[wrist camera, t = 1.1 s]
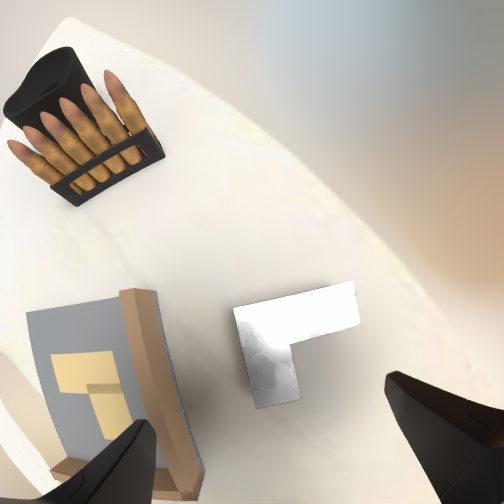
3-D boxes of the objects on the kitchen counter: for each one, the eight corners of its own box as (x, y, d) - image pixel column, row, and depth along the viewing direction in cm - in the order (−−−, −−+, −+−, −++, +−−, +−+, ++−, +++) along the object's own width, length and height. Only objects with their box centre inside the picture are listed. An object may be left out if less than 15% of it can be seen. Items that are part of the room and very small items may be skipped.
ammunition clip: (76, 207, 23) (-1, 157, 12) (73, 193, 24) (0, 140, 12) (165, 157, 24) (120, 70, 12) (160, 143, 25) (116, 57, 13)
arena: (205, 472, 19) (197, 500, 14) (75, 462, 18) (54, 479, 13) (156, 291, 22) (133, 288, 17) (30, 312, 21) (0, 312, 16)
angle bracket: (345, 363, 21) (369, 377, 16) (254, 386, 21) (256, 408, 16) (330, 285, 22) (352, 280, 17) (236, 306, 22) (233, 308, 17)
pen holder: (45, 127, 25) (6, 87, 16) (101, 87, 26) (70, 36, 17) (53, 175, 24) (0, 135, 14) (117, 128, 25) (77, 69, 15)
